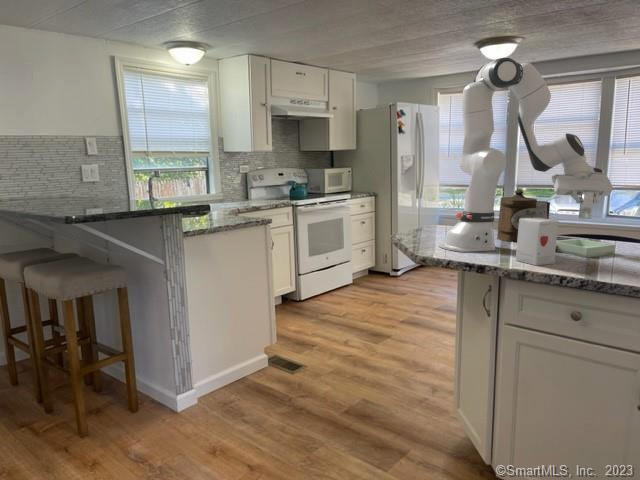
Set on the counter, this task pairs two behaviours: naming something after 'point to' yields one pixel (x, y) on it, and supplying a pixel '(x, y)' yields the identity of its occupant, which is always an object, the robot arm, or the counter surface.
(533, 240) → the supplement box
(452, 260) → the counter surface
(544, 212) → the coffee box
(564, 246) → the tray
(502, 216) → the wooden container
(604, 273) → the counter surface
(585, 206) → the clear glass cylinder
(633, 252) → the counter surface
